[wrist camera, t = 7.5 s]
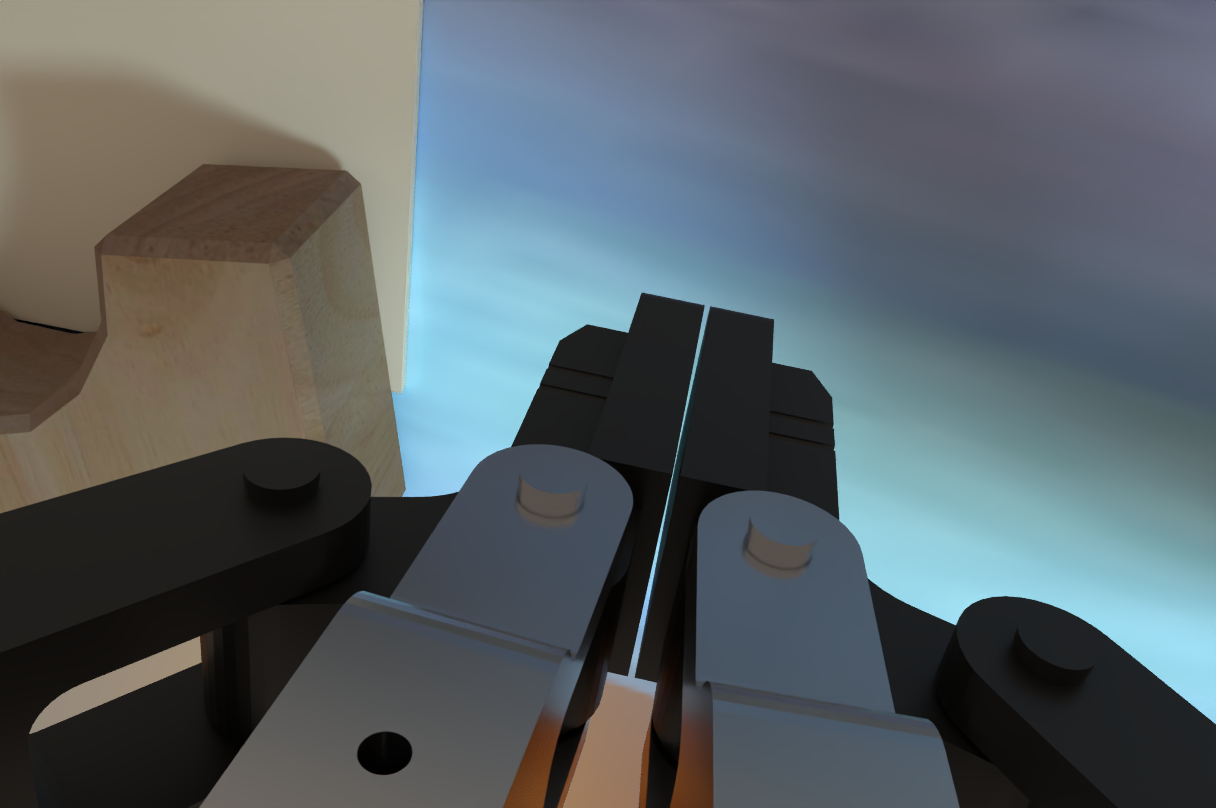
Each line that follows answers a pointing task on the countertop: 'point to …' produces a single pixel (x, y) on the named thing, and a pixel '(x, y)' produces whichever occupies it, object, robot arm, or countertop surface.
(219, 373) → the decorative block
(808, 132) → the countertop surface
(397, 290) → the sand mat
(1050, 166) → the countertop surface
